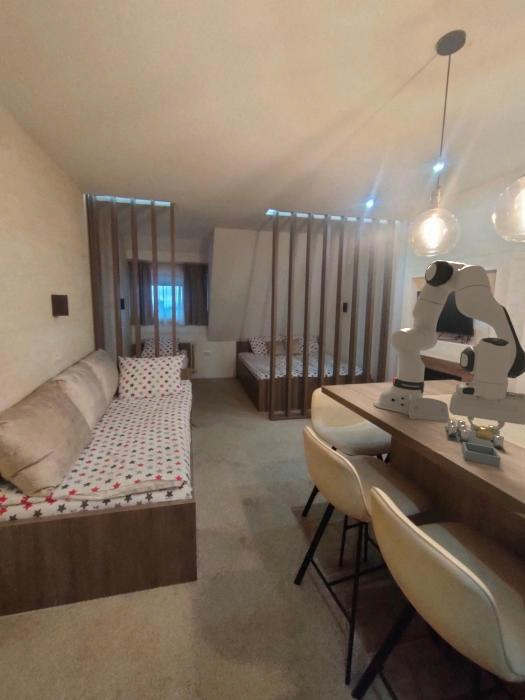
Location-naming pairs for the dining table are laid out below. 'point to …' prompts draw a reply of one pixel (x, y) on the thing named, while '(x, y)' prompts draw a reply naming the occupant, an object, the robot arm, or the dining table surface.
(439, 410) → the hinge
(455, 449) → the dining table surface
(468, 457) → the tray
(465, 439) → the spacers
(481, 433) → the knob
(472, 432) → the mat
